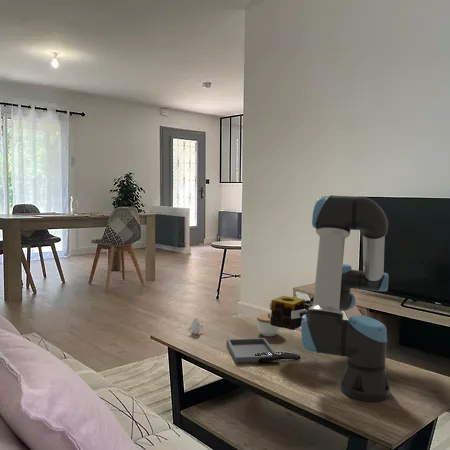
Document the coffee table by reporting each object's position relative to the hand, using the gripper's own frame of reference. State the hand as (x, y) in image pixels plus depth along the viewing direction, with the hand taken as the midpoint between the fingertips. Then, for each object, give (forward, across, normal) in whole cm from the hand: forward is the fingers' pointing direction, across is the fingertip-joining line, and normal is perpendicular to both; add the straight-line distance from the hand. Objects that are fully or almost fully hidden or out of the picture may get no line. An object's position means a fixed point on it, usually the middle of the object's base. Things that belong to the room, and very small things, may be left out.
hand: (280, 310), depth 169 cm
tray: (+8, +8, -18) cm, 21 cm away
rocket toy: (+16, +39, -18) cm, 46 cm away
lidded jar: (-12, +24, -18) cm, 32 cm away
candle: (-3, 0, -6) cm, 7 cm away
